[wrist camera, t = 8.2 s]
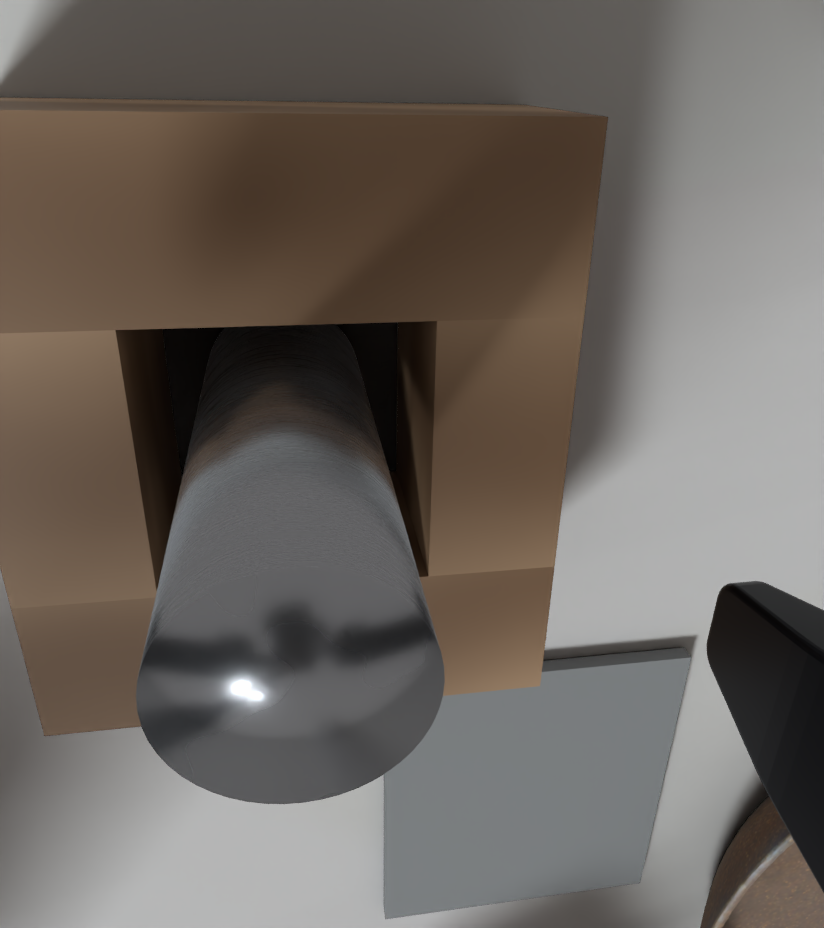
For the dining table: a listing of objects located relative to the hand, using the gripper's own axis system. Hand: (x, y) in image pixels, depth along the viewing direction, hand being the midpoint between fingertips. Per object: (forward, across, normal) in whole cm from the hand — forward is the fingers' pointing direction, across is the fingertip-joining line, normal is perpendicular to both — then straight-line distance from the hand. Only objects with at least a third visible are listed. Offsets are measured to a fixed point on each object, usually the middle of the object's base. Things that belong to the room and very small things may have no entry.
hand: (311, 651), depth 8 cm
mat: (+8, -6, +13) cm, 16 cm away
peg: (+9, 0, 0) cm, 9 cm away
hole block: (+9, 0, 0) cm, 9 cm away
